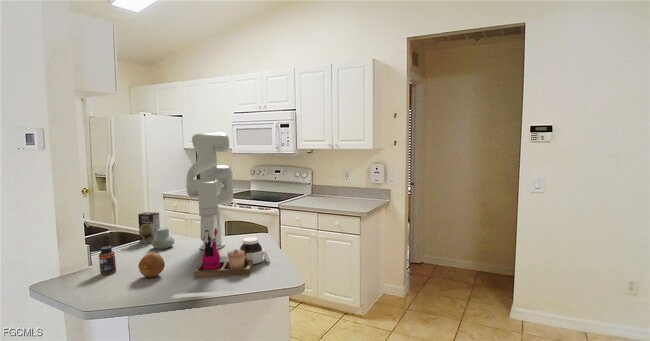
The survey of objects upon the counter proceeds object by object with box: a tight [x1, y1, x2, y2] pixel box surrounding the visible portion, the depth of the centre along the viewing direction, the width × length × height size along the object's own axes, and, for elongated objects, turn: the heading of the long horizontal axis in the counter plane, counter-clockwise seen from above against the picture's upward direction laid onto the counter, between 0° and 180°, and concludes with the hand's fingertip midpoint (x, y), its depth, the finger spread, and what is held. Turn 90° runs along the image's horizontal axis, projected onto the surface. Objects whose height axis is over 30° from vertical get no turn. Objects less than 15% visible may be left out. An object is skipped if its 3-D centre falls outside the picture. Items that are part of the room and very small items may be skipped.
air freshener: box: [151, 227, 175, 250], centre depth 198 cm, size 11×8×10 cm
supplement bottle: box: [98, 245, 117, 276], centre depth 161 cm, size 6×6×11 cm
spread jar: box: [239, 236, 271, 266], centre depth 168 cm, size 12×11×12 cm
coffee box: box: [137, 211, 161, 244], centre depth 210 cm, size 9×6×16 cm
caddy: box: [193, 260, 254, 279], centre depth 156 cm, size 11×22×4 cm, turn 95°
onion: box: [137, 251, 166, 278], centre depth 156 cm, size 10×10×10 cm
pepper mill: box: [201, 228, 221, 270], centre depth 155 cm, size 7×7×20 cm
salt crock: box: [227, 249, 245, 269], centre depth 156 cm, size 7×7×9 cm
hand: (210, 253), depth 155 cm, fingers closed on pepper mill, 5 cm apart
